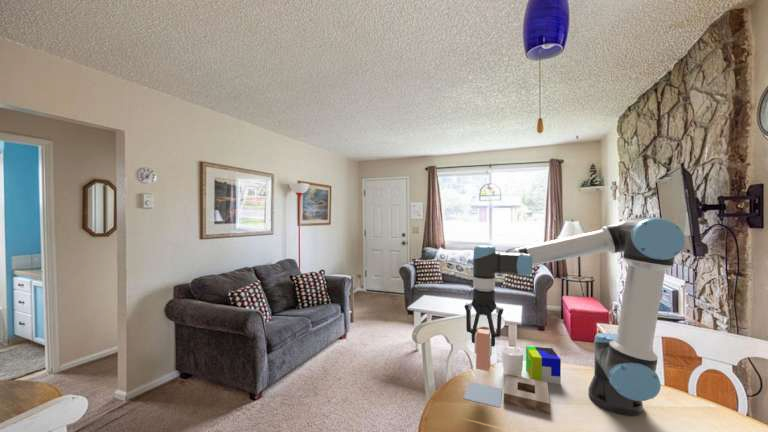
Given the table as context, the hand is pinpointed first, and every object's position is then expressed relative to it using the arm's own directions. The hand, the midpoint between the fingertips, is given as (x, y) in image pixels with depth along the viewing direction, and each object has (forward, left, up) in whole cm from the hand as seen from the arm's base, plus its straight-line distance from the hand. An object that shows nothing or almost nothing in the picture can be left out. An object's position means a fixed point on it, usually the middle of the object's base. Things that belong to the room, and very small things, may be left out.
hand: (483, 353), depth 111 cm
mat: (0, 0, -15) cm, 15 cm away
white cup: (-9, -19, -15) cm, 26 cm away
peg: (0, 0, -5) cm, 5 cm away
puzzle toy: (-20, -23, -15) cm, 34 cm away
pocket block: (-14, -4, -15) cm, 21 cm away
